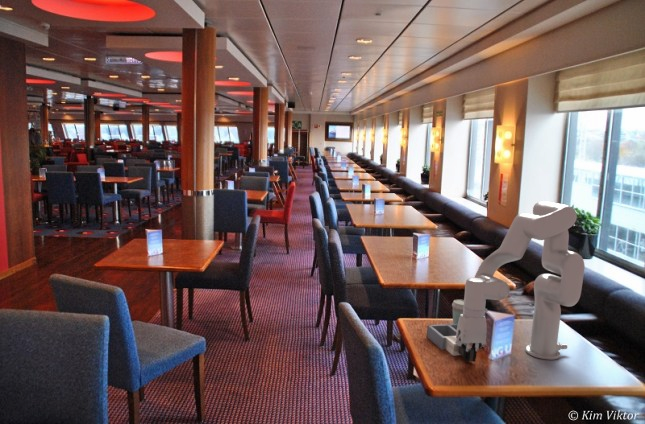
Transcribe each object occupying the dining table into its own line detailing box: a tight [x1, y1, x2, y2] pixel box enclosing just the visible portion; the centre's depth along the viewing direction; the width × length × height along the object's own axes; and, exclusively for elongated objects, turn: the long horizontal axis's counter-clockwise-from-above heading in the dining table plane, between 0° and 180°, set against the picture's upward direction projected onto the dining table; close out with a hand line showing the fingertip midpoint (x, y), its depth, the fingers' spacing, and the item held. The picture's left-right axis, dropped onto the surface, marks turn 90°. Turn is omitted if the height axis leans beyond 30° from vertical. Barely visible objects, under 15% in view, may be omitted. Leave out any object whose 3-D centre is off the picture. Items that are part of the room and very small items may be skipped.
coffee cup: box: [451, 299, 464, 324], centre depth 229 cm, size 8×9×12 cm
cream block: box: [444, 336, 474, 363], centre depth 201 cm, size 6×16×6 cm, turn 14°
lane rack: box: [426, 323, 483, 351], centre depth 214 cm, size 18×14×5 cm
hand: (469, 359), depth 195 cm, fingers closed on cream block
